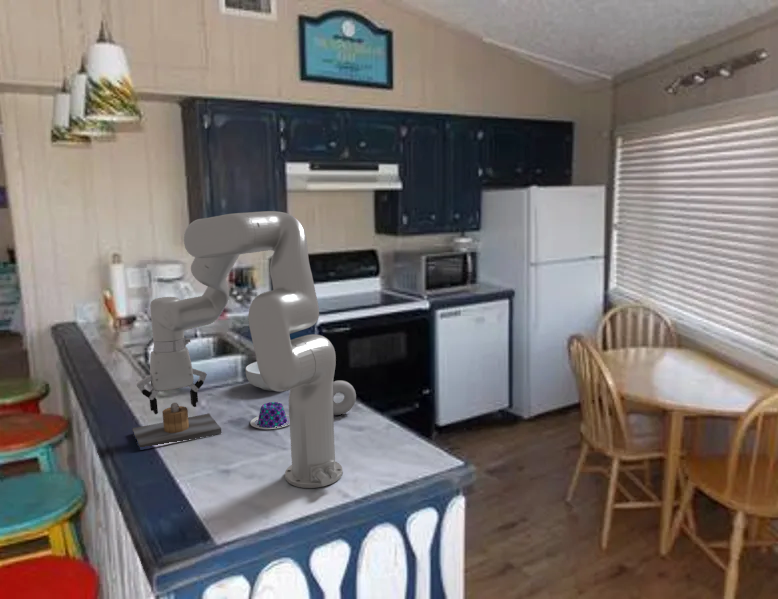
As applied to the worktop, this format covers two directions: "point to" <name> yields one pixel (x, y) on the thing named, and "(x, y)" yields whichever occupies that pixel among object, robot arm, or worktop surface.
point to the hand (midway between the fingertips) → (174, 409)
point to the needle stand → (196, 429)
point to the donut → (348, 397)
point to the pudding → (270, 416)
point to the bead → (175, 420)
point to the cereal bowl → (255, 376)
